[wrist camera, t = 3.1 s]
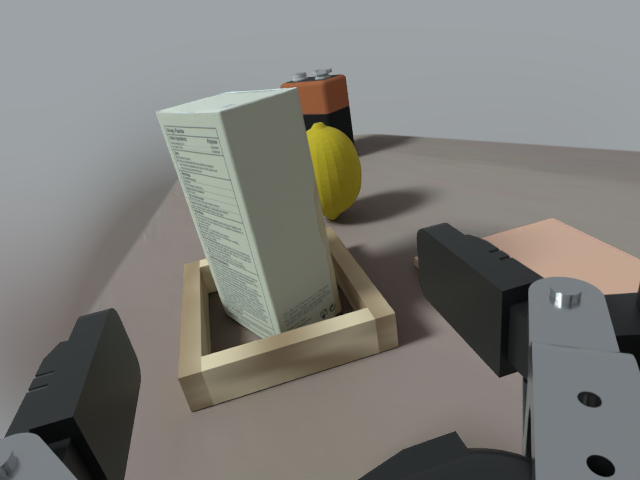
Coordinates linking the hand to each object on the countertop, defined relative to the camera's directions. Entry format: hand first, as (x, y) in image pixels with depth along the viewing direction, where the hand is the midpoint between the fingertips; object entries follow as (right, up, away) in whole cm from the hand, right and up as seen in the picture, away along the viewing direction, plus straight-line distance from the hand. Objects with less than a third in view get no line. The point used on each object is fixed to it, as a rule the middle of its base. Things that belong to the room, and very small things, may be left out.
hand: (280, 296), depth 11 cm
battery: (+2, +12, +42) cm, 44 cm away
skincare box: (-1, -3, +14) cm, 14 cm away
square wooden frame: (-1, -3, +14) cm, 14 cm away
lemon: (+2, +3, +25) cm, 25 cm away
